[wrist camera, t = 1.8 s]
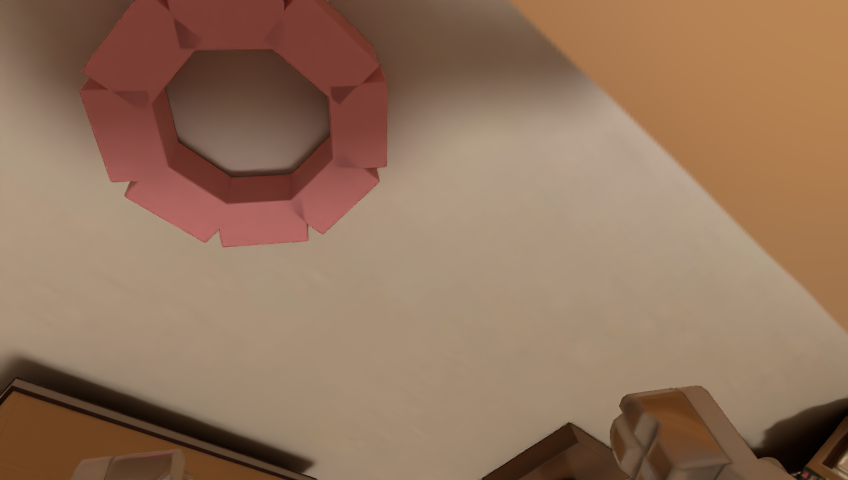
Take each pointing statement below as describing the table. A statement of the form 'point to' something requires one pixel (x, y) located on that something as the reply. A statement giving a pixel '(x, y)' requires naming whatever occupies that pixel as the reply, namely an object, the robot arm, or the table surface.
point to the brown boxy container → (830, 457)
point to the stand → (563, 460)
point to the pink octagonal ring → (195, 177)
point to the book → (102, 439)
